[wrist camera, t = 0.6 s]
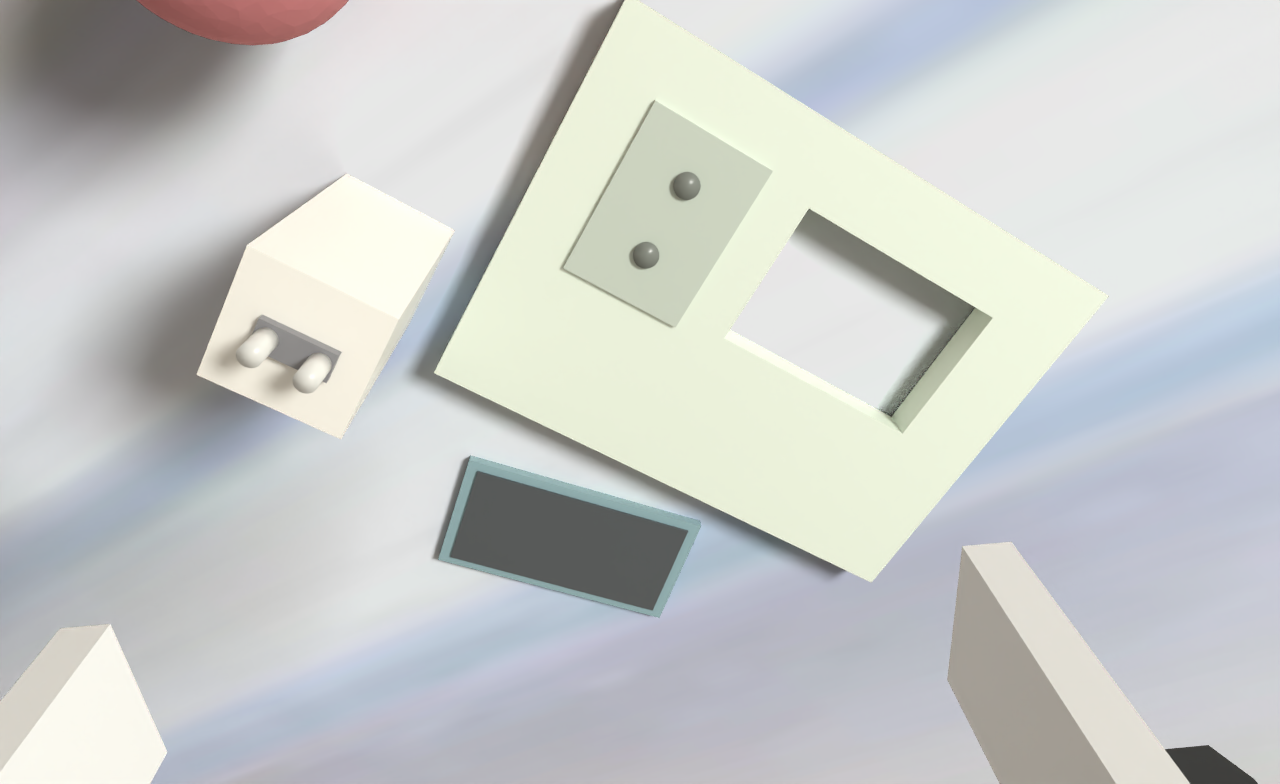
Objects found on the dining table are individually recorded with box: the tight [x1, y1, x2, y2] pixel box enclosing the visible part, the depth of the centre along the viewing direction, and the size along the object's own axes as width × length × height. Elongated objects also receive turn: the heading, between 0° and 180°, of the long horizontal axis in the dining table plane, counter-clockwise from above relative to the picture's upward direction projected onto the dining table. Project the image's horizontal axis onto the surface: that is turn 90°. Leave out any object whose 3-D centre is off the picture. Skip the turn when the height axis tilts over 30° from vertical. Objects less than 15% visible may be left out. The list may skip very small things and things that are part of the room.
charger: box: [197, 174, 455, 439], centre depth 29 cm, size 4×4×12 cm
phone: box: [438, 456, 701, 618], centre depth 40 cm, size 11×6×1 cm, turn 70°
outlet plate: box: [434, 0, 1109, 582], centre depth 35 cm, size 22×16×2 cm
